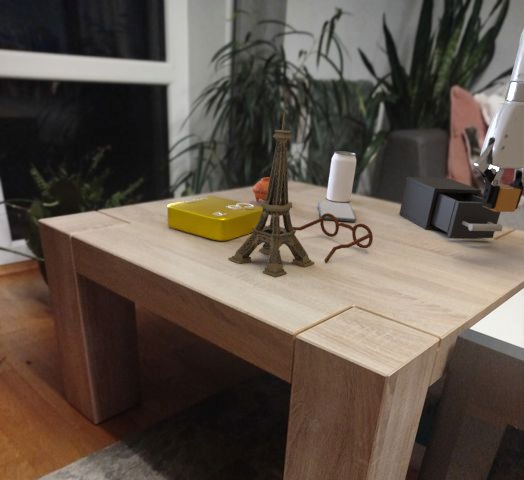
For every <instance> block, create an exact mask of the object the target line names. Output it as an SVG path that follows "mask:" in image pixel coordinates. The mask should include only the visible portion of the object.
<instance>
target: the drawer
mask: <svg viewBox="0 0 524 480" xmlns="http://www.w3.org/2000/svg"><path fill="white" fill-rule="evenodd" d="M481 203H482V197H481V196H480V197H478V196H476V195H473V194H471V193H443V192H437V195H436V199H435V204H434V208H433V212H432V217H431V221H430V224H432V225H434V226H436V227H438V228H440V229H441V230H440V231H443V232H445V233H446V234H447V237H448V238H457V239H458V238H459V239H460V238H462V239H464V238H465V239H466V238H468V239H469V238H471V239H494V235H495V232H501V231H502V230H503V224H501V223H498V222H499V219H500V216H501V212H495V211H493V210H490V209H488V208H485V207H483V206H482V204H481Z"/></svg>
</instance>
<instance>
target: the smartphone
mask: <svg viewBox="0 0 524 480" xmlns="http://www.w3.org/2000/svg"><path fill="white" fill-rule="evenodd" d="M317 206H318V207H317V208H318V211H319V213H318V215H319V219H320V218H321V217H322V215H324V214H326V213H330V214H332V215H334V216H335V217H336V219H337V220H338V222H341V221H342V222H352V223H354V222H356V221H357V218H356V215H355V212H354V210H353V207H352V204H351V203H349V202H346V203H340V202H333V201H325V200H319V201H318V202H317ZM324 220H329V221H334V220H333V219H332V218H331V217H328V216H326V217H325V218H324Z"/></svg>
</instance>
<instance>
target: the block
mask: <svg viewBox="0 0 524 480" xmlns="http://www.w3.org/2000/svg"><path fill="white" fill-rule="evenodd" d="M497 186H500V190H499V193H498V197H497V201H496V204H495V207H494V209H490V210H493V211H495V212H500V213H515V212H516V209H515V208H516V205H517V202H518V198H519V195H520V192H521V189H518V188H515V187H513V186H510V184H498V185H497ZM483 207H484V206H483ZM485 208H487V207H485ZM488 209H489V208H488Z"/></svg>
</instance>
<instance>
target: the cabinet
mask: <svg viewBox="0 0 524 480" xmlns="http://www.w3.org/2000/svg"><path fill="white" fill-rule="evenodd" d="M437 192H443V193H471V194H473V195H476V196H478V197H481V193H482V190H481V189H479V188H477V187H474V186H471V185H469V184H466V183H463V182H460V181H457V180H455V179H453V178H444V177H442V178H441V177H425V176H424V177H422V176H406V180H405V185H404V189H403V194H402V195H403V196H402V199H401V204H400V209H399V215H400V216H401V217H403V218H405V219H407V220H408V221H410V222H412V223H414V224H415V225H417V226H419V227H420V228H422V229H424V230H431V231H433V230H434V231H435V230H439V231H442V230H441V229H440V228H438V227H436V226H434V225H432V224H430V221H431V217H432V212H433V208H434V204H435V199H436V195H437Z"/></svg>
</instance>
